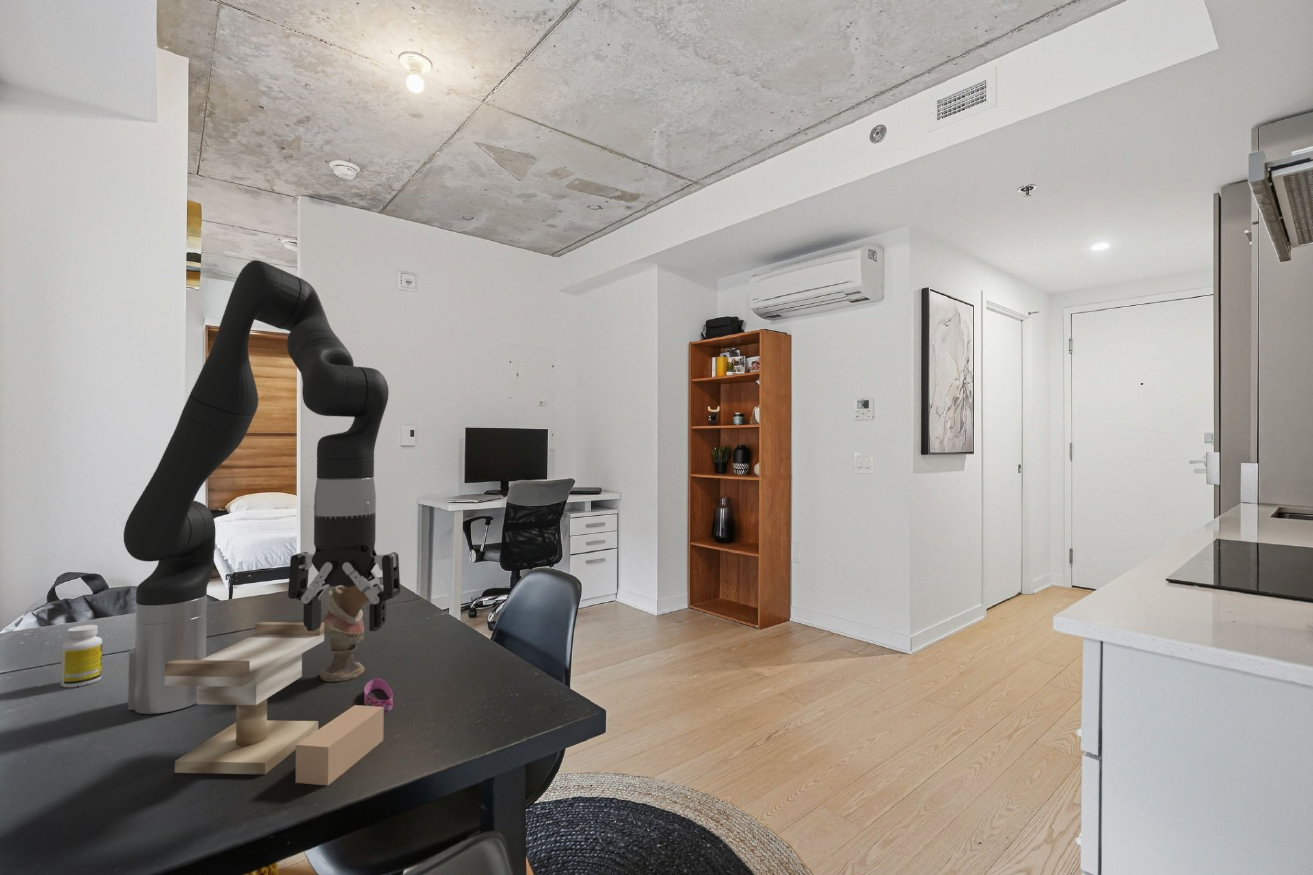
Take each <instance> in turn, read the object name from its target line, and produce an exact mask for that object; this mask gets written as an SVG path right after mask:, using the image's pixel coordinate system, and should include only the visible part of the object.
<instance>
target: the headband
mask: <svg viewBox="0 0 1313 875" xmlns="http://www.w3.org/2000/svg"><path fill="white" fill-rule="evenodd" d="M378 689H379V690H382V691H383V692H384V693H385V694H386V695H387V697H388V699H376V698H372V697H371V696H369V695H368V694H369V693H370V692H372V691H373V690H378ZM363 693H364V694H363V695H364V696H363V697H364V698H363V703H364V706H376V707H384V713H385V712H389V711H391V710H392V709H393V707H394V706H393V704H394V702H393V700H394V695H393V692H392V689H391V688H390V686H389V684H388V683H387V682H386V681H385V680H384V679H382V678H379V677H378V678H372V679H371V680H369V681H368V682H367V683H366V684H365V686H364V692H363Z"/></svg>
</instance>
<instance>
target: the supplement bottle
mask: <svg viewBox="0 0 1313 875" xmlns="http://www.w3.org/2000/svg"><path fill="white" fill-rule="evenodd" d="M98 632H99V631H98V625H96V624H85V625H78V626H74V627H70V628H68V629H67V631H66V633H67V634H66V638H67V639H68V640H67V641H65V642H64V643H62V645H61V650H60V651H61V653H60V654H61V655H60V686H61V687H62V686H63V687H62V688H78V687H77V686H79V687H83V685H84V686H87V684H88V685H91V684H95V683H97V682H99V681H100V680H101V679H102V677H103V676H102V674H103V673H102V672H103V670H102V669H103V639H102V638H101V637H99V636H97V634H98Z"/></svg>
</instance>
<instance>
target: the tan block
mask: <svg viewBox="0 0 1313 875" xmlns="http://www.w3.org/2000/svg"><path fill="white" fill-rule="evenodd" d="M384 713H385V712H384V707H376V706H366V705H357V704H354V705H353V706H351V707H350V708H349V709H347V710H345V711H344V712H343V713H341V714H339V715H338V716H337V717H335V718H334V719H332V720H331V721H330V722H328V723H326V724H324V725H323V726H322V727H320V728H318V730H317V731H316V732H314V733H313V734H311V735H310V736H308V737H307V738H305V739H304V740H302V741H301V742H299V743H298V744H296V750H295V784H308V785H320V786H329V785H330V784H332V783H333V782H334V781H336V780H337V779H338V778H339V777H340V776H342V775H343V774H344V773H345V772H346V771H348V770H349V769H351V767H353V766H354V765H355V764H356V763H357V762H359V761H360V760H361V759H362V758H364V757H365V756H366V755H367V754H369V753H370V752H371V751H372V750H373V749H374V748H376V747H377V746H378V745H379V744H380V743H382V742H383V741H384V720H385V719H384V718H385V717H384Z"/></svg>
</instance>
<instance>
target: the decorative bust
mask: <svg viewBox="0 0 1313 875" xmlns="http://www.w3.org/2000/svg"><path fill="white" fill-rule="evenodd" d="M365 580H366V579H365ZM366 581H367V580H366ZM380 585H381V586H382V587H383V584H380ZM367 603H371V601H370V600H369V599H368V597H367V596H366V595H365V593H363V592H361V591H360V590H359V589H358V587H357V586H356V585H355V586H353V587H346V586H343V585H339V586H336V587H333V588H331V589H329V591H328V592H327V595H326V598H325V599H324V605H325V607H326V609H327V613H326V614H325V617H324V618H323V620H321V623H324V634H325V635H327V636H328V637H329V640H330V650H329V651H330V653H331V654H334V656H333V660H332V662H331V663H330V664H329V665H327V666H325V667H324V668H322V669H321V671H319V678H320V679H321V680H322V681H324V682H345V681H350V680H353V679H356V678H358V677H360V676H361V675H363V674H364V673H365V669H366V668H365V666H363V664H362V663H360V662H358V661H357V662H356V661H355V659H354V658H355V657H354V651H356V649H357V644H359V643H360V642H362V641H363V640H364V638H365V625H364V620H363V616H364V612H363V610H362V608H363V607H364V605H366V604H367Z"/></svg>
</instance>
